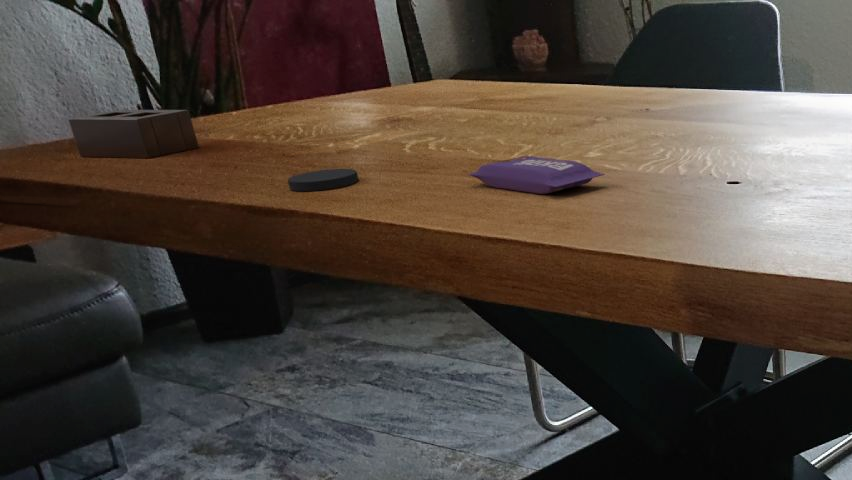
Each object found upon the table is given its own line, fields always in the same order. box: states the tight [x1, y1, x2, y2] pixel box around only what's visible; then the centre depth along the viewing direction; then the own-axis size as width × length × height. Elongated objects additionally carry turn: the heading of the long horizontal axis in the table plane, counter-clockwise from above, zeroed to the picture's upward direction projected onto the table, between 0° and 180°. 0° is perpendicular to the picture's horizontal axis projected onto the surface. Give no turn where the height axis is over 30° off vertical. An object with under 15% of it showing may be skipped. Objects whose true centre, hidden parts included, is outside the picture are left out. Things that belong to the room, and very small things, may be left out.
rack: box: [67, 109, 200, 159], centre depth 118 cm, size 6×11×4 cm, turn 67°
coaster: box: [287, 168, 359, 192], centre depth 94 cm, size 6×6×1 cm
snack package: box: [467, 155, 606, 195], centre depth 87 cm, size 12×2×5 cm
